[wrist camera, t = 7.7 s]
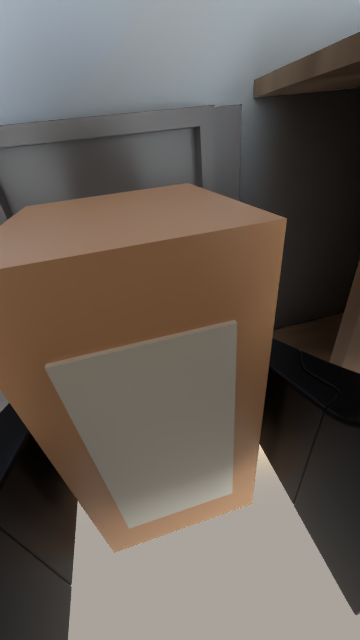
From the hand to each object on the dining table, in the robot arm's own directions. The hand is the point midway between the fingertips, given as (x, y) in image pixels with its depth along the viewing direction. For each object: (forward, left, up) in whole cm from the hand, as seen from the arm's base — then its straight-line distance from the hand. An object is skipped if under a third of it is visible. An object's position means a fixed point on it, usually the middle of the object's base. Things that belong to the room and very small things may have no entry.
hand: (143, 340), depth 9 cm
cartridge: (0, 0, -1) cm, 1 cm away
